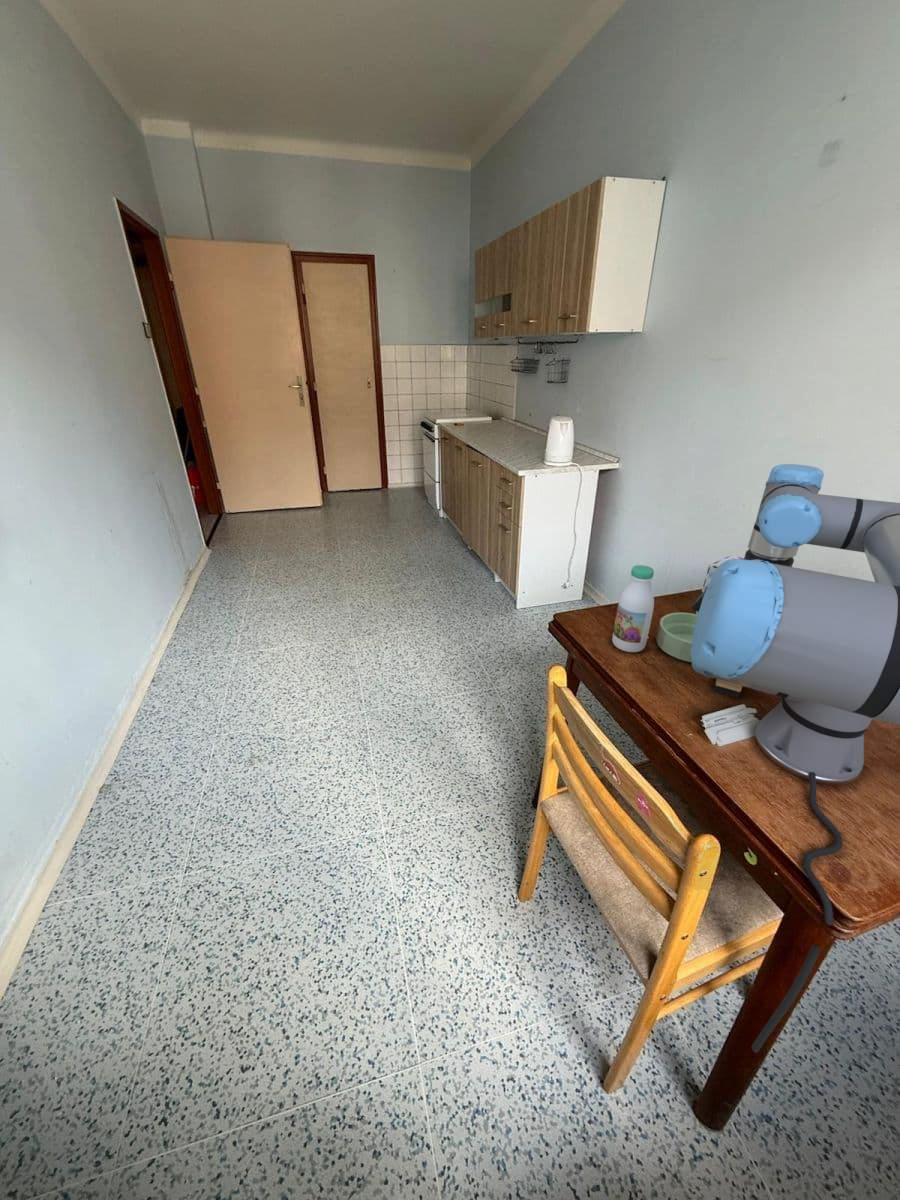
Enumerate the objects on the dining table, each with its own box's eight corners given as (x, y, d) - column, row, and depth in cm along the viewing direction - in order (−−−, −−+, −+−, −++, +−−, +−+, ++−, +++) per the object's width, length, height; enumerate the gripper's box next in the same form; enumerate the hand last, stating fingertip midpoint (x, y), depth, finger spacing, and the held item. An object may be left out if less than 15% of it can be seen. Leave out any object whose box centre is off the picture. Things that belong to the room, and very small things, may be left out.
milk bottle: (625, 632, 118) (639, 559, 109) (652, 646, 112) (669, 570, 103) (604, 641, 115) (617, 566, 105) (631, 657, 109) (646, 579, 99)
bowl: (718, 672, 103) (725, 651, 101) (650, 653, 110) (655, 633, 107) (723, 641, 114) (729, 621, 111) (661, 626, 120) (665, 607, 118)
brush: (738, 698, 96) (751, 662, 91) (713, 691, 98) (725, 655, 93) (740, 677, 102) (752, 642, 97) (717, 670, 104) (727, 636, 99)
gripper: (853, 559, 82) (811, 659, 92) (697, 535, 94) (674, 626, 104) (860, 574, 77) (814, 679, 87) (692, 547, 88) (669, 642, 98)
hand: (738, 651), depth 95 cm, fingers open, 13 cm apart
